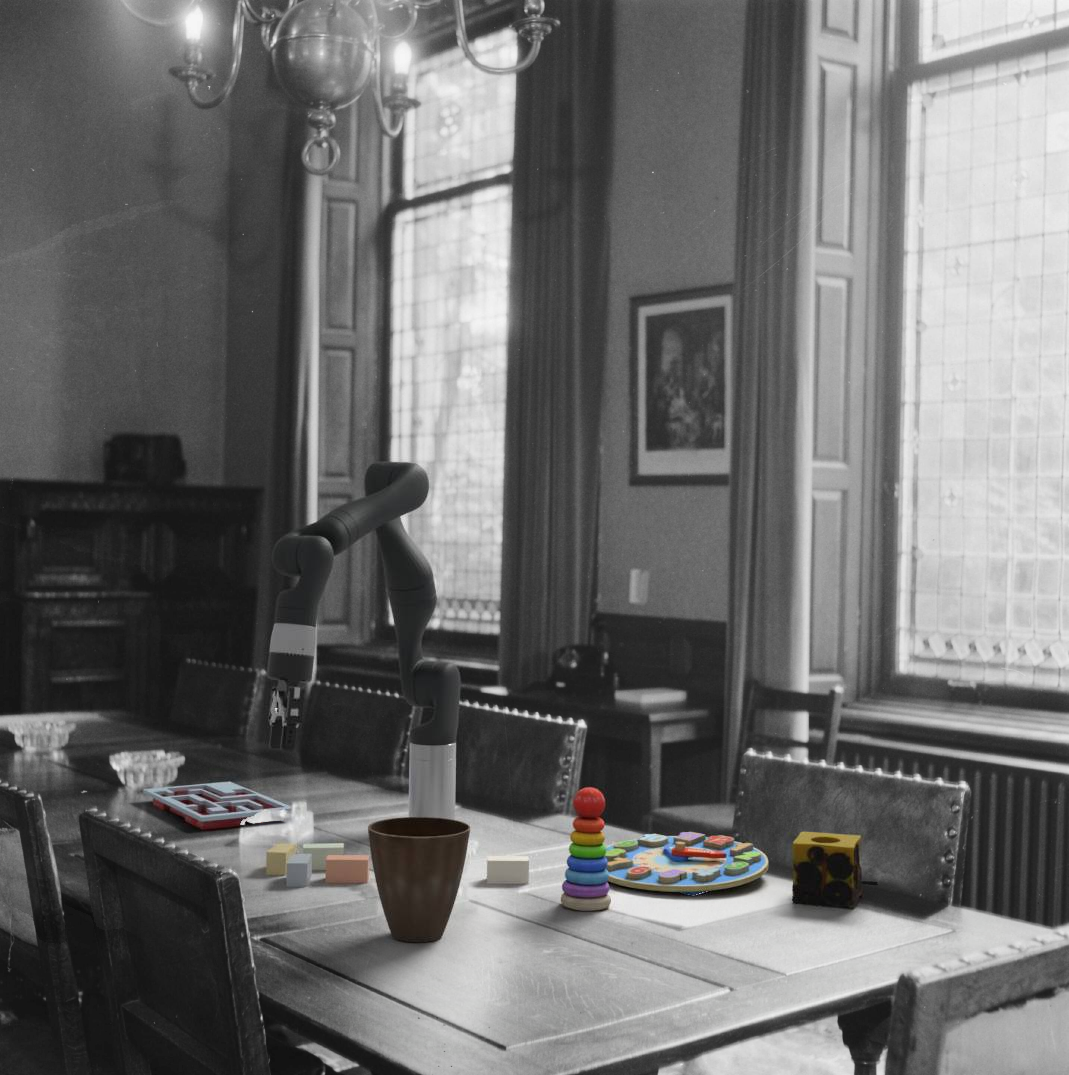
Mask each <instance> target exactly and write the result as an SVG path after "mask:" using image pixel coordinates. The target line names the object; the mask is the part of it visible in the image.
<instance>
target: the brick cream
mask: <svg viewBox="0 0 1069 1075" xmlns="http://www.w3.org/2000/svg"><path fill="white" fill-rule="evenodd" d="M529 873H530V859H529V856H527V855H526V856H525V855H519V856H518V855H517V856H516V855H514V856H513V855H487V856H486V884H496V885H498V884H500V885H501V884H502V885H503V884H504V885H505V884H507V885H508V884H510V885H511V884H512V885H513V884H514V885H516V884H517V885H528V884H530V883H529V878H530V876H529V875H530V874H529Z"/></svg>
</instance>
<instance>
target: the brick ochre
mask: <svg viewBox="0 0 1069 1075" xmlns="http://www.w3.org/2000/svg"><path fill="white" fill-rule="evenodd" d="M297 844H298V843H285V842H284V843H282V842H281V843H279V842H277V843H276V844H275V845H273V846H272V847H271V848H269V849H268V850H267V851H266V857H265V858H266V860H265V862H266V863H265V864H266V865H265V869H266V871H265V875H269V876H270V875H271V876H286V870H287V862H288V860H289V858H290V856H291V854H298V852H297V848H298V847H297V846H298V845H297Z"/></svg>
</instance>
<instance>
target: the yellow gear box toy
mask: <svg viewBox="0 0 1069 1075" xmlns="http://www.w3.org/2000/svg"><path fill="white" fill-rule="evenodd" d="M861 843H862V836H861V835H859V834H857V835H856V834H843V833H832V832H831V833H828V832H818V831H817V832H816V831H801V832H800V833H799V834H798V836H797V837H796V838H795V839H794V840H793V842H792V861H791V862H792V865H793V876H792V879H793V880H792V881H793V882H792V887H791V888H792V889H791V891H792V897H791V898H792V899H791V902H792V901H793V902H796V903H795V904H798V903H801V904H800V905H810V904H811V905H812V906H819V905H821V907H829V908H830V907H831V908H841V909H855V907H856V906H857V905H858V903H859V901H860V897H861V896H862V893H863V891H862V890H863V888H862V887H863V885H862V878H863V876H862V867H861V865H860V858H861V857H860V852H861ZM793 902H792V903H793Z"/></svg>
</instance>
